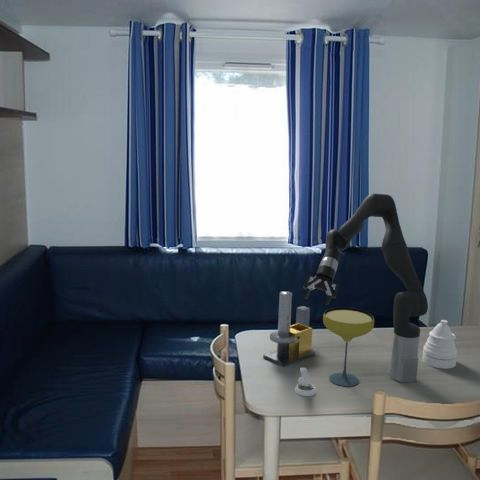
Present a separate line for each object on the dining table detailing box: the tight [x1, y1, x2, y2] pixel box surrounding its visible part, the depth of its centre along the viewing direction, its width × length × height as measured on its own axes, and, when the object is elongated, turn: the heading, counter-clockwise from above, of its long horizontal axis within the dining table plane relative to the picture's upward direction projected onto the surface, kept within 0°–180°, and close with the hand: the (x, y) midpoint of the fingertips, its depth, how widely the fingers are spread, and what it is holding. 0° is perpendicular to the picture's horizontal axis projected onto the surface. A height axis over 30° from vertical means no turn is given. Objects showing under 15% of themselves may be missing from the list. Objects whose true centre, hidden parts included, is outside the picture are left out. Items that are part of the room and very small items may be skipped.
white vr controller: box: [294, 367, 317, 397], centre depth 190 cm, size 8×12×7 cm
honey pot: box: [421, 319, 458, 369], centre depth 219 cm, size 13×13×18 cm
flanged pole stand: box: [262, 291, 316, 368], centre depth 219 cm, size 19×11×27 cm, turn 132°
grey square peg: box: [295, 305, 311, 327], centre depth 234 cm, size 4×4×16 cm
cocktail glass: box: [322, 307, 375, 388], centre depth 199 cm, size 18×18×25 cm
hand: (316, 301), depth 228 cm, fingers open, 8 cm apart
